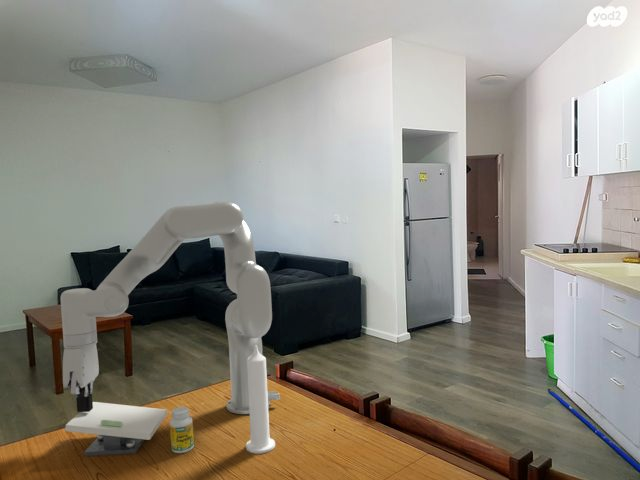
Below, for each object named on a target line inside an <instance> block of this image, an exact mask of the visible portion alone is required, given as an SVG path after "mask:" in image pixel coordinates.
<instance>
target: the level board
mask: <svg viewBox="0 0 640 480" xmlns="http://www.w3.org/2000/svg"><path fill="white" fill-rule="evenodd" d="M167 414H168V409H164V408H155V407H145V406H136V405H126V404H117V403H109V402H100V401H93V409H92V410H91V411H90V412H77V414H76V415H75V416H74V417H73V418H71V420H69V421H68V422H67V423H66V424H65V428H64V429H65V432H70V433H79V434H91V435H108V436H117V437H127V438H136V439H145V440H147V441H148V440H149V441H150V440H151V439H152V437H154V434H155V433H156V432H157V430H158V429H159V427H160V425H161V424H162V423H163V422H164V420H165V418H166V417H167Z"/></svg>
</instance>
